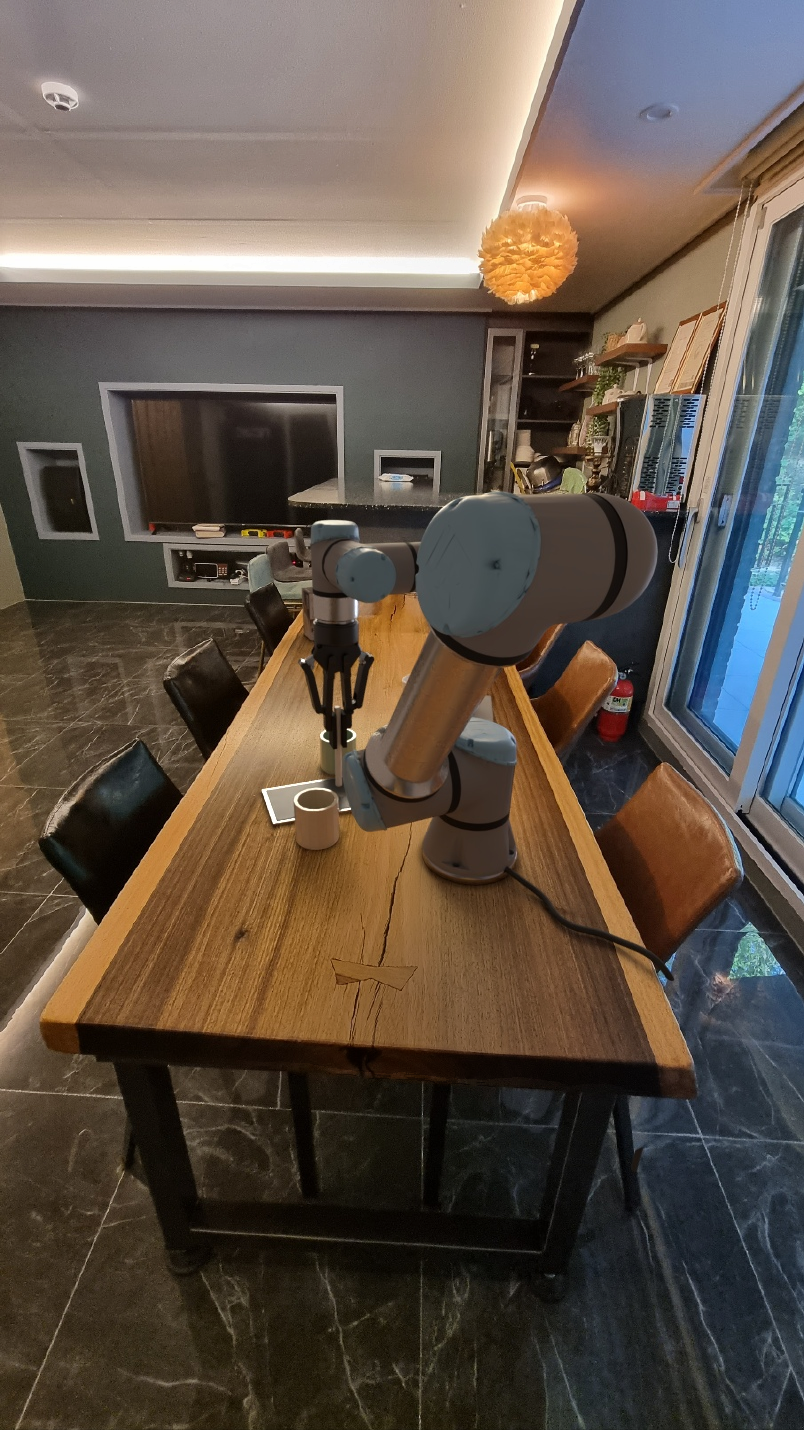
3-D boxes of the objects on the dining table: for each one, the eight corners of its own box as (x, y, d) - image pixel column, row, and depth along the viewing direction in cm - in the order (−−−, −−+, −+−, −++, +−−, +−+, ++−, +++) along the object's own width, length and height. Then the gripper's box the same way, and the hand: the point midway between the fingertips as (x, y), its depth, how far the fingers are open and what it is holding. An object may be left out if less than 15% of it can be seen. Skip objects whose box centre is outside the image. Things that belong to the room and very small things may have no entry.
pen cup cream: (343, 844, 102) (343, 806, 99) (301, 853, 99) (299, 814, 96) (332, 821, 108) (331, 784, 105) (291, 829, 105) (289, 791, 102)
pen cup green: (360, 773, 124) (360, 740, 121) (326, 779, 121) (325, 745, 118) (350, 757, 130) (350, 725, 127) (317, 762, 128) (316, 730, 124)
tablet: (367, 810, 111) (367, 805, 111) (273, 828, 106) (273, 823, 105) (348, 779, 122) (348, 774, 121) (261, 793, 116) (261, 789, 115)
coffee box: (328, 638, 207) (327, 591, 201) (310, 640, 205) (308, 593, 198) (320, 631, 215) (318, 586, 208) (302, 633, 212) (300, 587, 206)
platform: (443, 720, 149) (445, 695, 146) (446, 693, 165) (447, 670, 162) (493, 723, 148) (495, 698, 145) (490, 695, 164) (492, 672, 161)
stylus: (342, 786, 114) (341, 707, 108) (336, 787, 114) (335, 708, 107) (340, 782, 115) (339, 705, 109) (334, 784, 115) (333, 705, 108)
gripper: (369, 609, 107) (368, 731, 117) (288, 615, 102) (294, 741, 112) (384, 621, 101) (381, 748, 110) (298, 627, 96) (304, 760, 105)
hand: (338, 745), depth 111 cm, fingers closed on stylus
